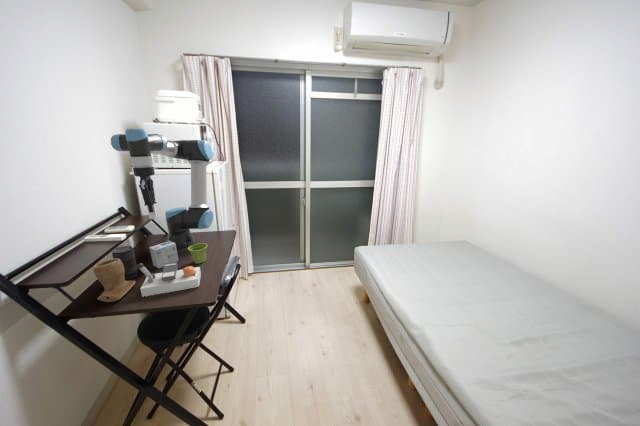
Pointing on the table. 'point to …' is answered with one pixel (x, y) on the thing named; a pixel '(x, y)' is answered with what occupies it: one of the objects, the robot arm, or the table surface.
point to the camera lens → (127, 261)
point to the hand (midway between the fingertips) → (153, 218)
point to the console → (170, 283)
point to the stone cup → (112, 279)
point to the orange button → (188, 271)
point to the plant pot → (198, 252)
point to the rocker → (169, 271)
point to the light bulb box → (164, 254)
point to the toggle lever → (144, 270)
